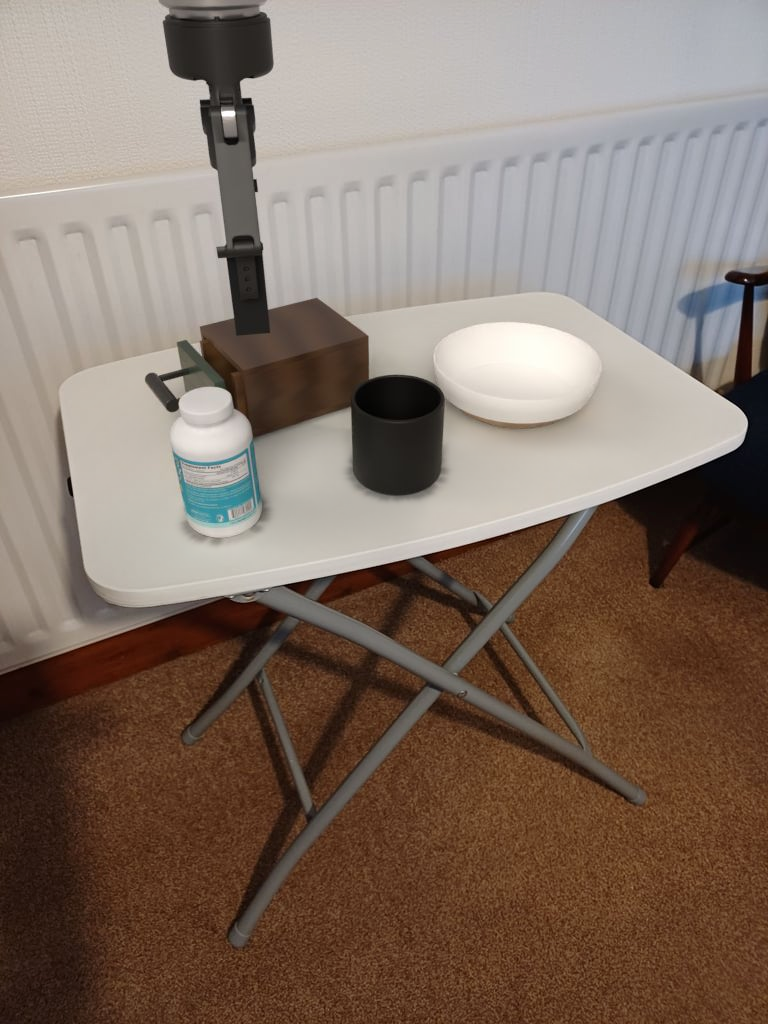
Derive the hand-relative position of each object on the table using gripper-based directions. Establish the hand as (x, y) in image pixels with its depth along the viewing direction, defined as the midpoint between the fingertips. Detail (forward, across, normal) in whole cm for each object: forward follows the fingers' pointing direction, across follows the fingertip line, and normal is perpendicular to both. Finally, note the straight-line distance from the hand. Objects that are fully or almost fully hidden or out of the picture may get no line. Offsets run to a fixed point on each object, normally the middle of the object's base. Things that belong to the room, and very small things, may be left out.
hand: (248, 298), depth 68 cm
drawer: (+20, +17, +2) cm, 26 cm away
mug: (+21, +2, -15) cm, 26 cm away
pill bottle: (+21, -4, +5) cm, 22 cm away
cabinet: (+21, +19, -4) cm, 28 cm away
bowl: (+21, +12, -30) cm, 38 cm away
